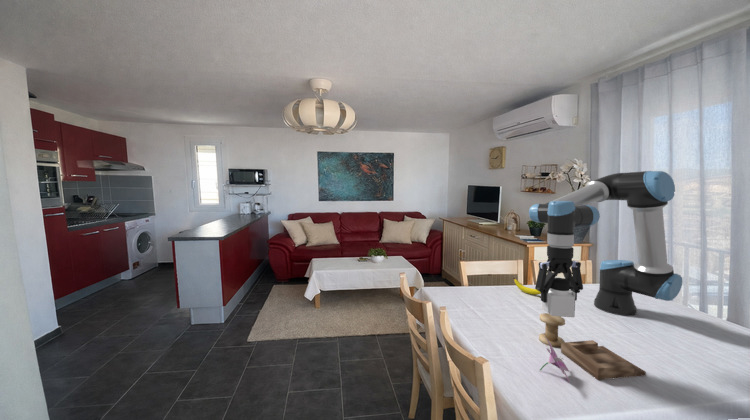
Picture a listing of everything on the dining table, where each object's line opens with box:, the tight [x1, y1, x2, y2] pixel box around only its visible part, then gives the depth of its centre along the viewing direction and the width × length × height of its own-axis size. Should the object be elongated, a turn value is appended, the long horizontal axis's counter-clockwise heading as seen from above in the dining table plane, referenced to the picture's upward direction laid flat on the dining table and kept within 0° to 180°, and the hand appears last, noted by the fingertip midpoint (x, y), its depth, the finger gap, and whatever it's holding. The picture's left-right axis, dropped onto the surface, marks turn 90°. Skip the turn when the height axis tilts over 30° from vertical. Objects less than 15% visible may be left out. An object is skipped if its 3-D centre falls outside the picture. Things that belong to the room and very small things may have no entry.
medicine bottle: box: [548, 276, 576, 318], centre depth 95 cm, size 7×7×12 cm
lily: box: [539, 337, 571, 383], centre depth 84 cm, size 12×12×10 cm
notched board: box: [560, 339, 647, 381], centre depth 89 cm, size 16×14×4 cm
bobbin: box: [538, 312, 566, 348], centre depth 102 cm, size 8×8×9 cm
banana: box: [512, 277, 541, 295], centre depth 149 cm, size 3×19×6 cm, turn 26°
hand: (558, 310), depth 95 cm, fingers closed on medicine bottle, 8 cm apart
